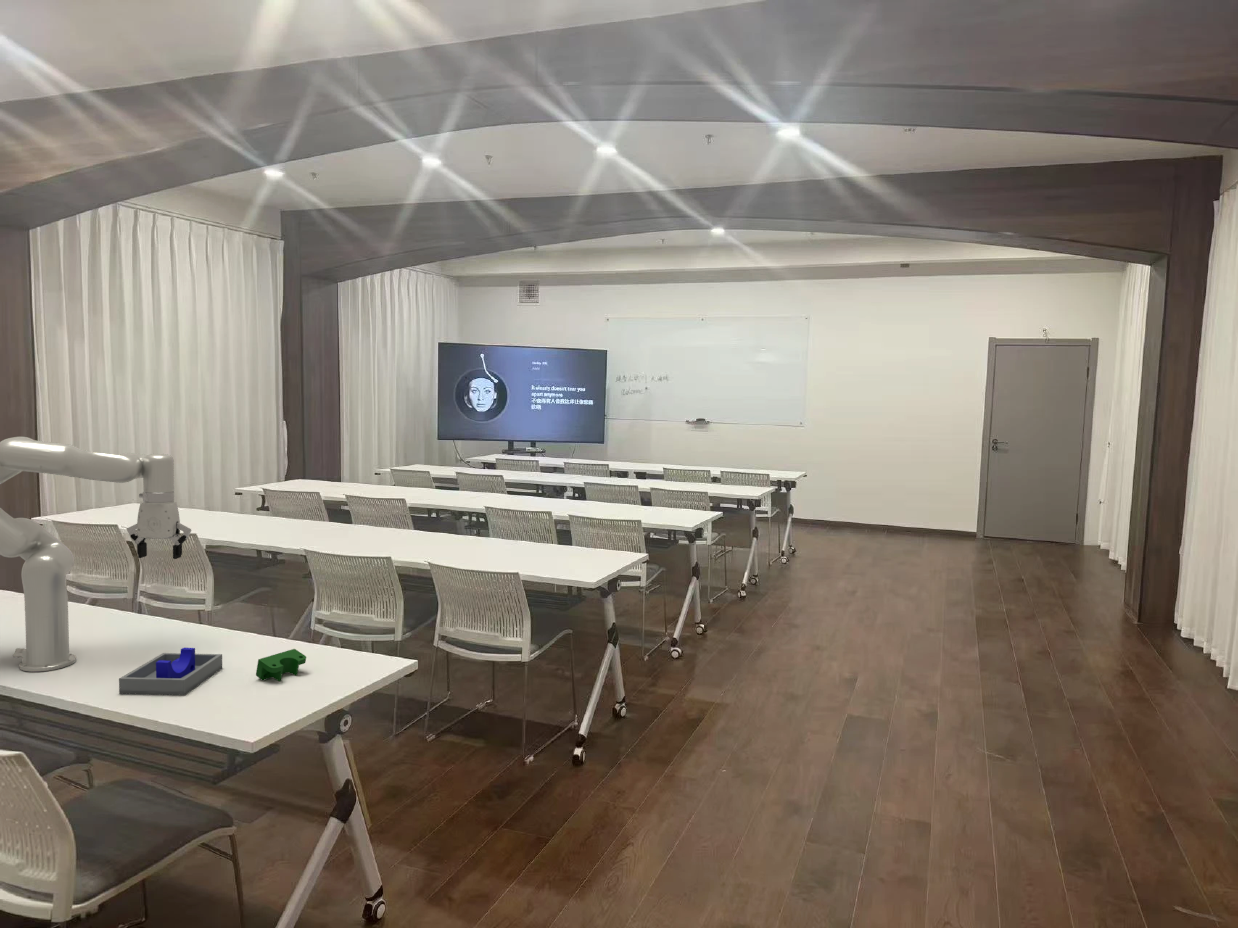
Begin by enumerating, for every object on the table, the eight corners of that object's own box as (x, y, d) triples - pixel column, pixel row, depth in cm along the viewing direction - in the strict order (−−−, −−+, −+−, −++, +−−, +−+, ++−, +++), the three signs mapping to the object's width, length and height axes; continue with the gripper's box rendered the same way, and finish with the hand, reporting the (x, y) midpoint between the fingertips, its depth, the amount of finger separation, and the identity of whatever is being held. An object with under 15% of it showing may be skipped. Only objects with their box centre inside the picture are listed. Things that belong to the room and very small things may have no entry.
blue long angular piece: (178, 668, 213) (178, 647, 213) (195, 669, 213) (194, 647, 212) (150, 684, 201) (150, 661, 201) (167, 685, 201) (167, 662, 200)
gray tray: (119, 694, 197) (118, 678, 197) (163, 667, 217) (163, 652, 216) (184, 695, 197) (184, 679, 197) (222, 668, 217) (222, 654, 217)
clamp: (273, 697, 209) (266, 673, 205) (259, 687, 212) (252, 663, 207) (311, 670, 218) (305, 645, 213) (297, 660, 221) (291, 636, 216)
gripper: (119, 498, 219) (120, 559, 220) (183, 500, 219) (183, 561, 221) (135, 495, 226) (136, 554, 228) (196, 497, 227) (197, 555, 228)
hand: (159, 557), depth 224 cm, fingers open, 9 cm apart
